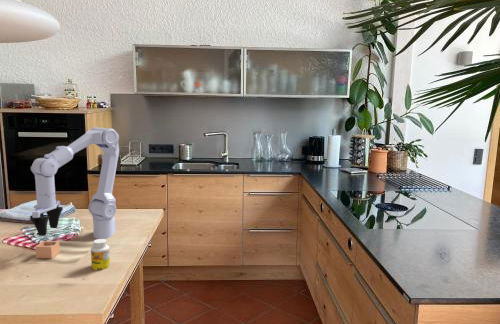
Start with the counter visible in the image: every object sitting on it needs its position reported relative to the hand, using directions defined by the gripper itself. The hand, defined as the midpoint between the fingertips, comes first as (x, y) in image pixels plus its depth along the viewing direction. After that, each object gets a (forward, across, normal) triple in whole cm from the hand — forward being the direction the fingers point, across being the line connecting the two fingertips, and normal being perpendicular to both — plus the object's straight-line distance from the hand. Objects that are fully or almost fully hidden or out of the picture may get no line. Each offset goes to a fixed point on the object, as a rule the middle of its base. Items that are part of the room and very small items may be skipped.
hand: (48, 231), depth 135 cm
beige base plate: (+9, -1, +5) cm, 11 cm away
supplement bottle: (+10, +10, +22) cm, 26 cm away
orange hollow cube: (+8, +2, +1) cm, 8 cm away
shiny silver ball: (+9, +2, +1) cm, 10 cm away
